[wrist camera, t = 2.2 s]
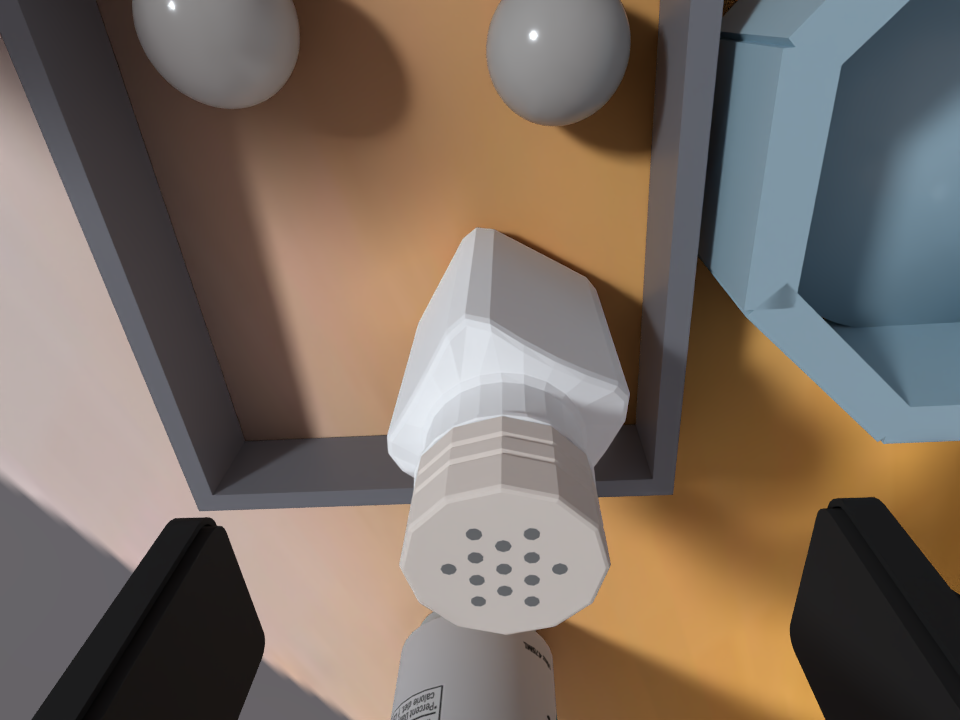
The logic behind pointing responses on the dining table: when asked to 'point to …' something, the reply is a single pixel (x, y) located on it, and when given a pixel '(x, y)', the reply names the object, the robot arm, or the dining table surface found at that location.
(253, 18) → the pebble
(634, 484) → the parts tray
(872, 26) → the bowl
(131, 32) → the dining table surface
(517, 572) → the pepper shaker
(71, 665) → the robot arm
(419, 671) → the energy drink can
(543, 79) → the pebble
